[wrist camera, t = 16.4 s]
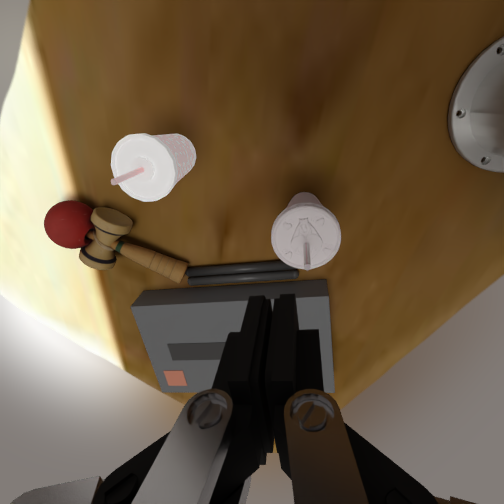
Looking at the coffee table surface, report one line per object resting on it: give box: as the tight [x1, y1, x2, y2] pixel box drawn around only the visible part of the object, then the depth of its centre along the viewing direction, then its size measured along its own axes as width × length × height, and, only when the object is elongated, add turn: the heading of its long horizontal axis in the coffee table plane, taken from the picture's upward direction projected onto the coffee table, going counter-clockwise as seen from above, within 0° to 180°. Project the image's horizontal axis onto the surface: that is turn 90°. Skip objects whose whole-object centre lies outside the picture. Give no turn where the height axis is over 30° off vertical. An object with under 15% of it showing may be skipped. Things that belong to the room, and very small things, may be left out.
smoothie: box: [271, 192, 341, 270], centre depth 31 cm, size 6×6×14 cm
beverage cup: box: [111, 133, 196, 202], centre depth 30 cm, size 6×6×14 cm
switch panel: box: [131, 261, 335, 393], centre depth 44 cm, size 26×19×4 cm
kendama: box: [44, 201, 188, 283], centre depth 40 cm, size 8×6×18 cm
